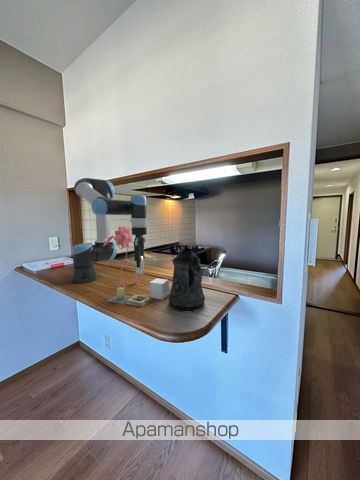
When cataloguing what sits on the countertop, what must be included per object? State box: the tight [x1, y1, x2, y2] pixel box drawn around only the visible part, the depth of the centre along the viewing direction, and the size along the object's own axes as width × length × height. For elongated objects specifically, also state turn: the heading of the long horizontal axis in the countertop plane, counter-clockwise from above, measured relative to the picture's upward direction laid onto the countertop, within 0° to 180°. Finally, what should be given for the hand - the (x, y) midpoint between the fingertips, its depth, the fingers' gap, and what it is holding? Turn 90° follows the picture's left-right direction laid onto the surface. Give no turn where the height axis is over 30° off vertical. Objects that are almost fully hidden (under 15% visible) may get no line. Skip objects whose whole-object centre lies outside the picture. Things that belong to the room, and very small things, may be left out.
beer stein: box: [167, 249, 206, 312], centre depth 89 cm, size 16×19×25 cm
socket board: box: [126, 294, 152, 307], centre depth 93 cm, size 8×8×2 cm
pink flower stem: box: [103, 225, 147, 291], centre depth 116 cm, size 15×26×35 cm, turn 141°
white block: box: [149, 277, 170, 300], centre depth 100 cm, size 7×7×8 cm
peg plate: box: [107, 286, 133, 305], centre depth 97 cm, size 9×9×5 cm
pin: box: [136, 256, 144, 277], centre depth 103 cm, size 4×4×10 cm
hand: (139, 272), depth 103 cm, fingers closed on pin, 3 cm apart
